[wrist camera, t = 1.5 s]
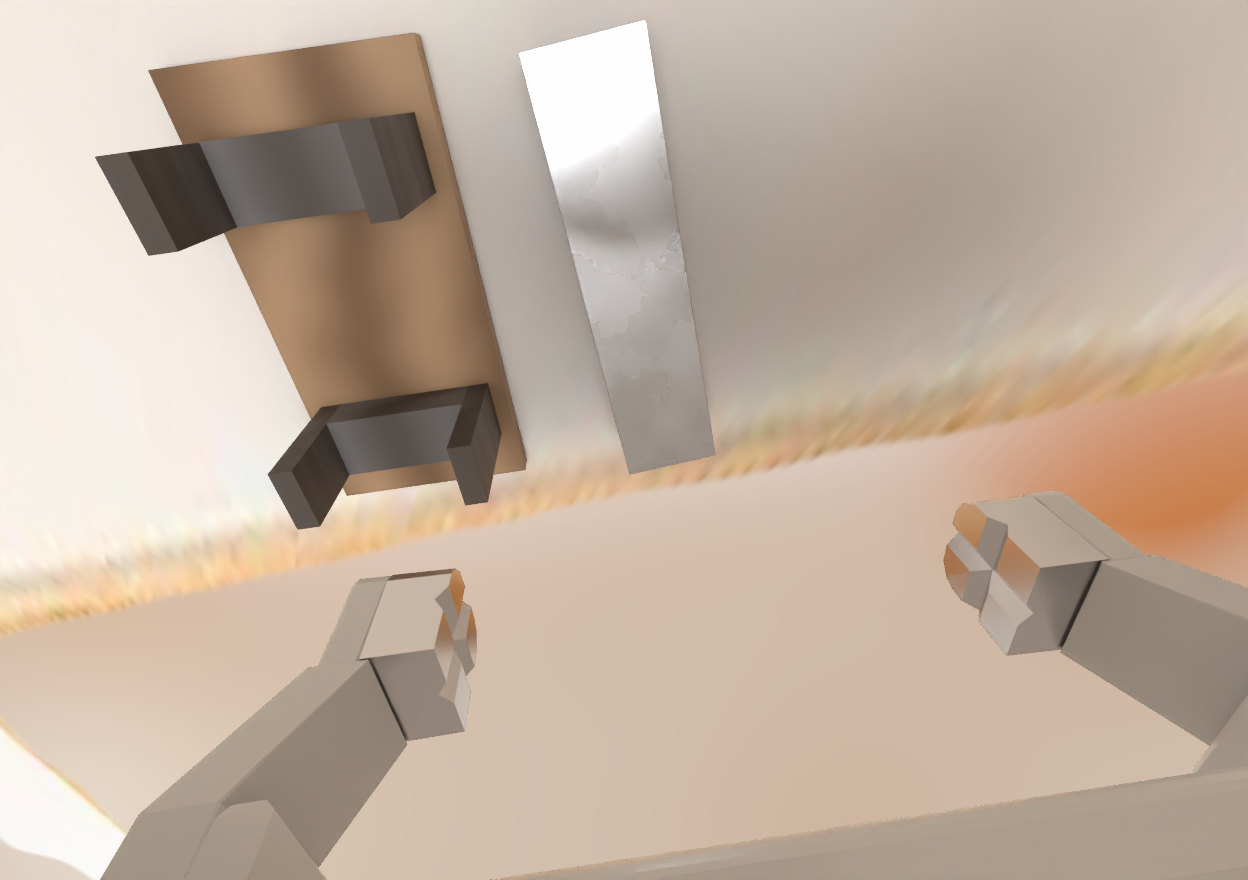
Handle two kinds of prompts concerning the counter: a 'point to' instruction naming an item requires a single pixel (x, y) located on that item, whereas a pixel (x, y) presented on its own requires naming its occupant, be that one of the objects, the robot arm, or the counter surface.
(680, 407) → the rail
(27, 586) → the counter surface
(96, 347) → the counter surface
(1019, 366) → the counter surface
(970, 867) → the robot arm
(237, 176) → the stand
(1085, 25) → the counter surface
